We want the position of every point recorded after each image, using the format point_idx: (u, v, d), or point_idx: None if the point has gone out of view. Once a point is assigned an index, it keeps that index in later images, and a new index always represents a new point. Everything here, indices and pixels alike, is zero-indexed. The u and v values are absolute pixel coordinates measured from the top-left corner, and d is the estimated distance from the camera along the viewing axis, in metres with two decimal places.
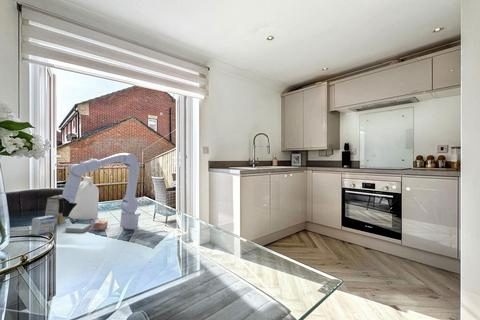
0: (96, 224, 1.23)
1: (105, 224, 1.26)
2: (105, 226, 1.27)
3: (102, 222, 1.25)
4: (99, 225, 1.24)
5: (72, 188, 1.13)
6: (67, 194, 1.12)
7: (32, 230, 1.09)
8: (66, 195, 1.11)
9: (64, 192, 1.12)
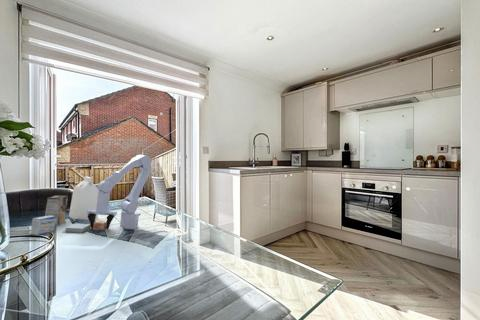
0: (96, 224, 1.23)
1: (105, 224, 1.26)
2: (105, 226, 1.27)
3: (102, 222, 1.25)
4: (99, 225, 1.24)
5: (108, 203, 1.26)
6: (105, 209, 1.25)
7: (32, 230, 1.09)
8: (105, 211, 1.25)
9: (102, 209, 1.24)
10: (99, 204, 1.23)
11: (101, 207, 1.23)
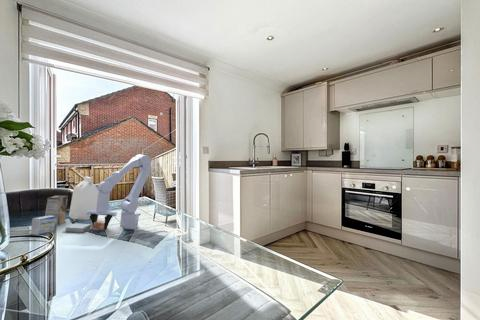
0: (96, 224, 1.23)
1: None
2: None
3: (102, 222, 1.25)
4: (99, 225, 1.24)
5: (108, 204, 1.26)
6: (105, 210, 1.25)
7: (32, 230, 1.09)
8: (105, 211, 1.25)
9: (102, 209, 1.24)
10: (99, 204, 1.23)
11: (101, 207, 1.23)
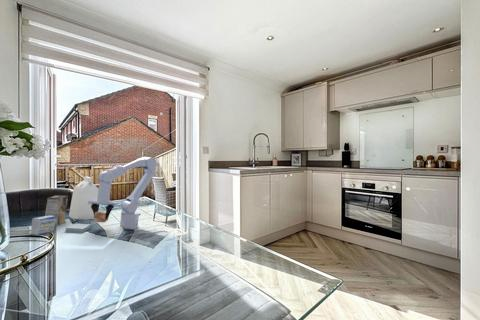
0: (97, 214, 1.23)
1: None
2: None
3: (103, 212, 1.25)
4: (100, 215, 1.24)
5: (109, 194, 1.26)
6: (107, 200, 1.25)
7: (32, 230, 1.09)
8: (106, 201, 1.25)
9: (103, 199, 1.24)
10: (100, 194, 1.23)
11: (102, 197, 1.24)
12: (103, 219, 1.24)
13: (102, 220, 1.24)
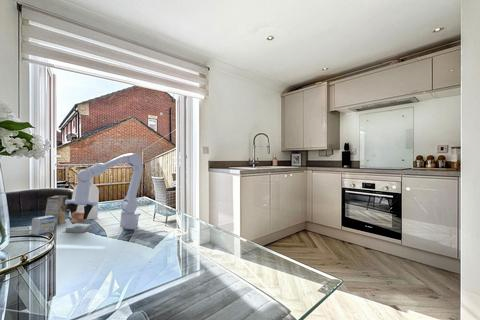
0: (75, 214, 1.18)
1: None
2: None
3: (81, 212, 1.19)
4: (78, 215, 1.18)
5: (88, 193, 1.21)
6: (85, 199, 1.20)
7: (32, 230, 1.09)
8: (84, 200, 1.19)
9: (81, 198, 1.18)
10: (78, 193, 1.18)
11: (80, 197, 1.18)
12: (81, 219, 1.18)
13: (80, 220, 1.18)
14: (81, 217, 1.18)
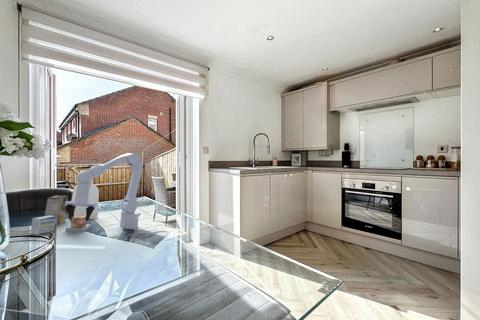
0: (74, 219, 1.18)
1: (84, 219, 1.21)
2: (84, 221, 1.21)
3: (81, 217, 1.19)
4: (77, 220, 1.18)
5: (87, 194, 1.21)
6: (85, 201, 1.20)
7: (32, 230, 1.09)
8: (84, 202, 1.19)
9: (81, 200, 1.18)
10: (78, 195, 1.18)
11: (80, 198, 1.18)
12: (80, 224, 1.18)
13: (79, 225, 1.18)
14: (80, 222, 1.18)
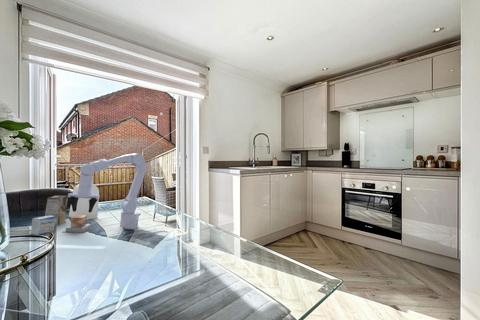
0: (74, 218, 1.18)
1: (84, 218, 1.21)
2: (84, 220, 1.21)
3: (81, 217, 1.19)
4: (77, 219, 1.18)
5: (90, 186, 1.23)
6: (88, 193, 1.22)
7: (32, 230, 1.09)
8: (87, 194, 1.22)
9: (84, 192, 1.21)
10: (81, 187, 1.20)
11: (83, 190, 1.20)
12: (80, 224, 1.18)
13: (79, 225, 1.18)
14: (81, 222, 1.18)
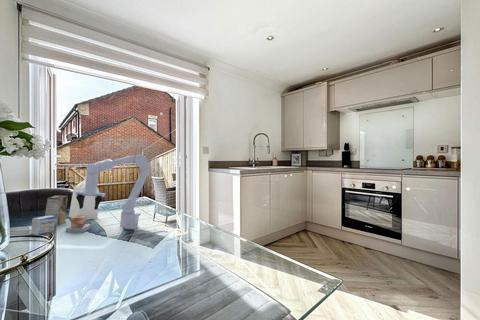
0: (74, 219, 1.18)
1: (84, 219, 1.21)
2: (84, 221, 1.21)
3: (81, 217, 1.20)
4: (78, 220, 1.18)
5: (96, 185, 1.30)
6: (94, 191, 1.29)
7: (32, 230, 1.09)
8: (93, 192, 1.28)
9: (90, 190, 1.27)
10: (87, 185, 1.27)
11: (89, 188, 1.27)
12: (81, 224, 1.19)
13: (79, 225, 1.19)
14: (81, 222, 1.19)
